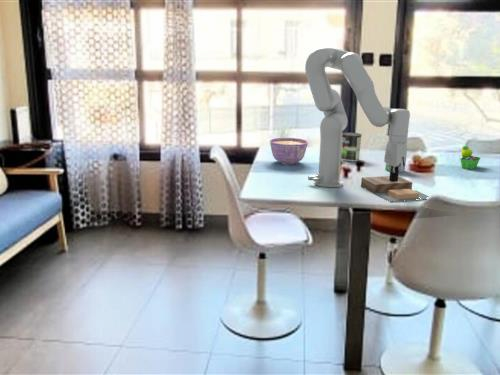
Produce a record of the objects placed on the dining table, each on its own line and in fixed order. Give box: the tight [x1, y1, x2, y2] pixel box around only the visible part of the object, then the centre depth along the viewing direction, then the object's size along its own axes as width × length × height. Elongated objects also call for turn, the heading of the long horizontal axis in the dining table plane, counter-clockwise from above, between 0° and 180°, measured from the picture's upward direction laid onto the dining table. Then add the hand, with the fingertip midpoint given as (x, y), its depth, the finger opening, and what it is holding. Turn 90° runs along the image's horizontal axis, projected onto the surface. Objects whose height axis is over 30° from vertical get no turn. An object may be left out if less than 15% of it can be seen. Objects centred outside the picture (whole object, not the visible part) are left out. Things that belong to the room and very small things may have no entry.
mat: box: [375, 190, 430, 203], centre depth 217 cm, size 20×12×1 cm, turn 106°
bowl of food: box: [269, 137, 309, 165], centre depth 272 cm, size 20×20×12 cm
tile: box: [388, 189, 419, 199], centre depth 216 cm, size 10×7×2 cm
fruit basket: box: [460, 145, 481, 170], centre depth 272 cm, size 11×9×11 cm
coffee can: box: [341, 132, 362, 162], centre depth 283 cm, size 10×10×14 cm
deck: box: [360, 175, 413, 195], centre depth 228 cm, size 18×12×4 cm, turn 106°
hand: (393, 181), depth 222 cm, fingers closed
